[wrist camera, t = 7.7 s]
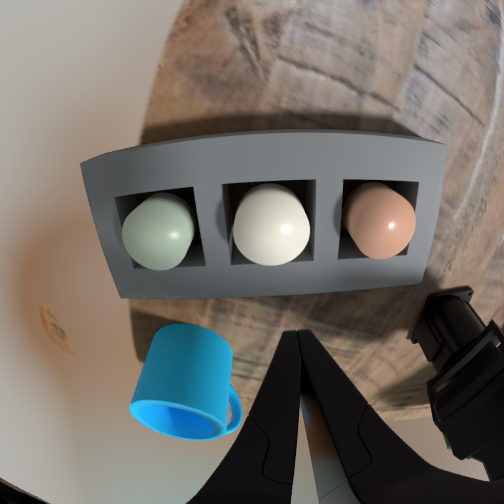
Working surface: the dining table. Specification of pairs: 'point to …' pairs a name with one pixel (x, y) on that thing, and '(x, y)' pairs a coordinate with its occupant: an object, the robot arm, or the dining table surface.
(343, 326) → the dining table surface
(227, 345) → the mug
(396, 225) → the terracotta button
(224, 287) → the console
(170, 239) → the sage button
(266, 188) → the cream button
